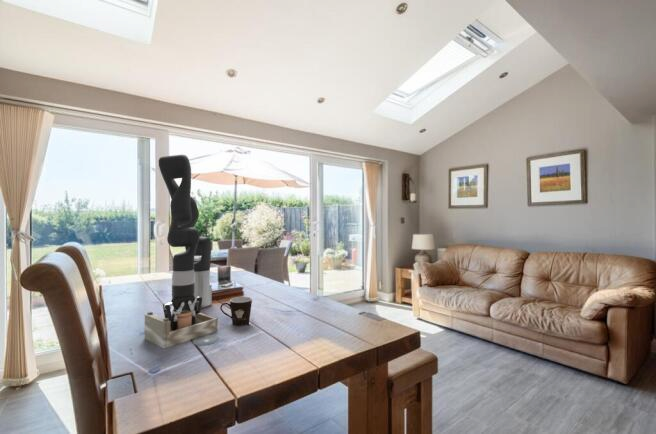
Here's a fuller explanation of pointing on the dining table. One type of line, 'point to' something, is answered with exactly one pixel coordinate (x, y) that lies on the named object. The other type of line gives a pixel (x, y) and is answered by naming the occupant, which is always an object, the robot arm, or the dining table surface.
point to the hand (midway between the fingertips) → (183, 328)
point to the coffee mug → (239, 310)
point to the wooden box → (165, 337)
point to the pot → (184, 319)
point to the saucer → (205, 340)
